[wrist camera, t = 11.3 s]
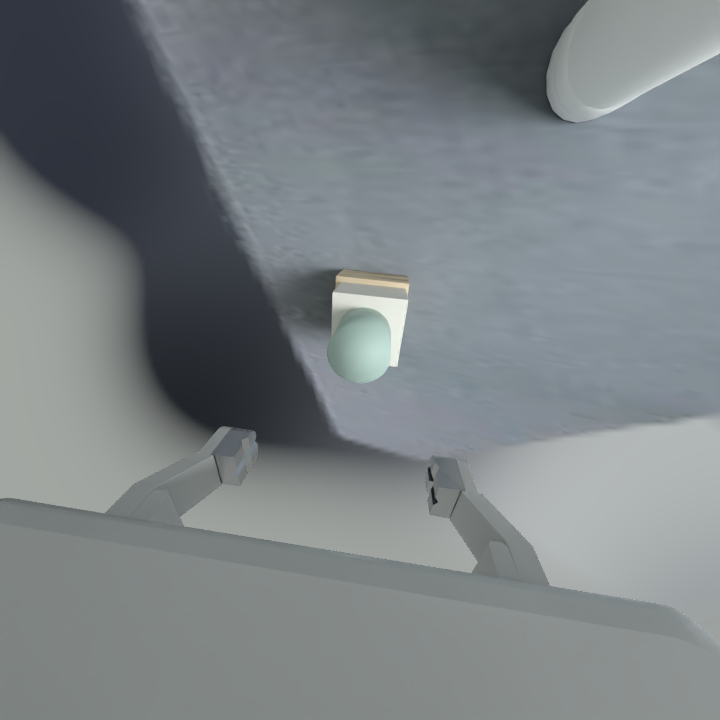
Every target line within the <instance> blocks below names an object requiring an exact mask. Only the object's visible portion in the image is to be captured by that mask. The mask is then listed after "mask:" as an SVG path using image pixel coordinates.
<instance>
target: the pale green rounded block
mask: <svg viewBox="0 0 720 720" xmlns="http://www.w3.org/2000/svg"><path fill="white" fill-rule="evenodd" d="M327 357H328V361H329V364H330V366H331V367H332V369H333V370H334V371H335V373H337V374H338V375H339V376H340V377H342V378H343V379H345V380H348V381H351V382H355V383H366V382H371V381H373V380H376V379H377V378H379V377H380V376H382V375H383V374H384V373H385V371H386V370H387V368H388V366H389V363H390V358H391V329H390V325H389V323H388V321H387V319H386V318H385V317H384V316H383V315H382V314H381V313H380V312H378V311H376V310H374V309H371V308H356V309H354V310H351V311H350V312H348V313H347V314H346V315H345V316H344V317H343V318H342V320H341V321H340V323H339V325H338V327H337V329H336V331H335V333H334V334H333V336H332V338H331V340H330V342H329V345H328V348H327Z"/></svg>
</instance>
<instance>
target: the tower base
mask: <svg viewBox="0 0 720 720" xmlns="http://www.w3.org/2000/svg"><path fill="white" fill-rule="evenodd" d="M341 282H350V283H359V284H369V285H378V286H388V287H398V288H406V292H407V295H408V290H409V281H408V278H407V276H402V275H392V274H383V273H374V272H364V271H355V270H345V269H343V270H342V271H341V272H340V273H339V274H337V275H336V287H335V289H336V288H337V287H338V285H339V284H340V283H341Z"/></svg>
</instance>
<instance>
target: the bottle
mask: <svg viewBox="0 0 720 720" xmlns="http://www.w3.org/2000/svg"><path fill="white" fill-rule="evenodd" d="M718 54H720V0H588V1H587V2H586V3H585V5H584V6H583V7H582V8H581V9H580V10H579V12H578V13H577V14H576V15H575V17H574V18H573V20H572V21H571V23H570V24H569V25H568V26H567V27H566V28H565V30H564V31H563V33H562V35H561V37H560V39H559V41H558V43H557V44H556V46H555V48H554V50H553V52H552V55H551V59H550V63H549V67H548V71H547V74H546V83H547V97H548V99H549V102H550V105H551V107H552V110H553V111H554V112H555V113H556V114H557V115H559V116H560V117H561V118H562V119H563V120H567V121H571V122H575V123H579V122H584V121H589V120H594V119H596V118H598V117H600V116H603V115H606V114H608V113H610V112H612V111H614V110H616V109H618V108H619V107H621V106H623V105H625V104H626V103H628V102H630V101H632V100H633V99H635V98H637V97H638V96H640V95H642V94H643V93H645V92H647V91H649V90H651V89H653V88H655V87H657V86H659V85H661V84H663V83H664V82H666V81H668V80H670V79H672V78H674V77H676V76H678V75H680V74H682V73H683V72H685V71H687V70H689V69H691V68H693V67H695V66H697V65H699V64H701V63H703V62H704V61H706V60H708V59H710V58H712V57H714V56H716V55H718Z"/></svg>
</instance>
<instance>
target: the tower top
mask: <svg viewBox="0 0 720 720" xmlns="http://www.w3.org/2000/svg"><path fill="white" fill-rule="evenodd" d="M407 305H408V296H407V292H406V288H398V287H388V286H378V285H369V284H359V283H350V282H341V283H340V284H339V285H338V287H337V288H336V289H335V290H334V291H333V296H332V330H331V338H332V336H333V334H334V333H335V331H336V329H337V327H338V325H339V323H340V321H341V320H342V318H343V317H344V316H345V315H346V314H347V313H348V312H350V311H351V310H354V309H356V308H371V309H374V310H376V311H378V312H380V313H381V314H382V315H383V316H384V317H385V318H386V319H387V321H388V323H389V325H390V329H391V358H390V363H389V366H395V367H397V364H398V358H399V352H400V346H401V340H402V335H403V329H404V323H405V317H406V311H407Z"/></svg>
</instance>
